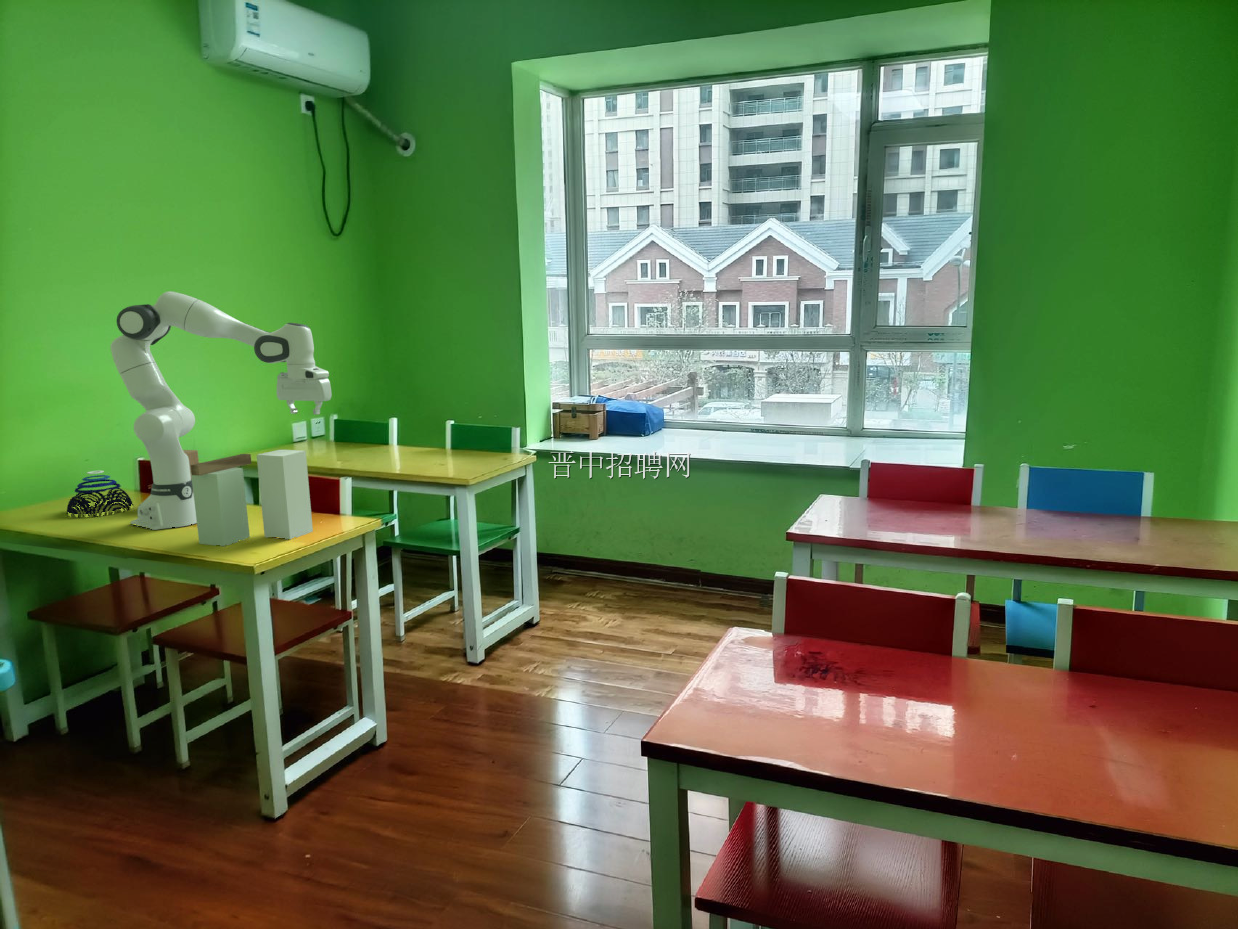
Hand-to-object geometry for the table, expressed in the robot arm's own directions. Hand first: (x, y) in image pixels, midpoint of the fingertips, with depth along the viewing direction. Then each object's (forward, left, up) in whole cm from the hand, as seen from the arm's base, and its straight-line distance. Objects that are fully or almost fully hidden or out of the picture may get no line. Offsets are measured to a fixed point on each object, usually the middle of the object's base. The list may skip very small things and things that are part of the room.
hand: (305, 414), depth 281 cm
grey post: (+9, -22, -35) cm, 42 cm away
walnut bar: (-5, -32, -13) cm, 35 cm away
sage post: (-5, -34, -35) cm, 49 cm away
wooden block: (-58, -2, -35) cm, 68 cm away
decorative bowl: (-81, -17, -36) cm, 90 cm away
